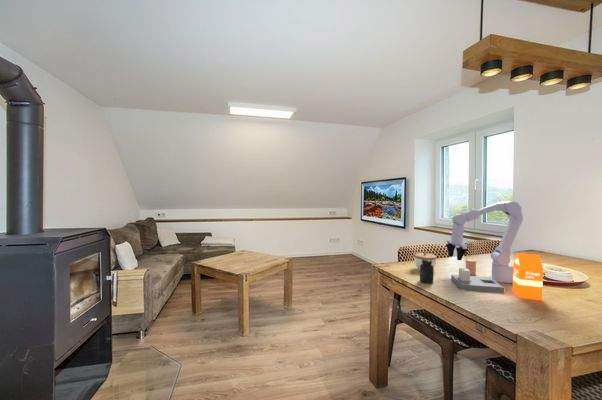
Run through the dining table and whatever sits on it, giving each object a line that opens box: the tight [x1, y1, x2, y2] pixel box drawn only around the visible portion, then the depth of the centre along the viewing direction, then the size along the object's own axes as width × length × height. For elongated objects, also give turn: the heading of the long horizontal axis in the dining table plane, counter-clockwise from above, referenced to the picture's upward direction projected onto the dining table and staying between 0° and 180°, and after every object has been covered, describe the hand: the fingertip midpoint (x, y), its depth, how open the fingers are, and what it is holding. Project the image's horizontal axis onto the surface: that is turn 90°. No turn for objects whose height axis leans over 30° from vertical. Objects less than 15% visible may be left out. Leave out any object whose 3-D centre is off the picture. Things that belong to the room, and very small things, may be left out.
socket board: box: [450, 267, 505, 293], centre depth 144 cm, size 19×16×8 cm
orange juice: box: [512, 252, 544, 301], centre depth 130 cm, size 8×9×20 cm
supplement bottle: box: [419, 259, 435, 285], centre depth 149 cm, size 7×7×12 cm
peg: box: [465, 259, 477, 276], centre depth 164 cm, size 4×4×8 cm
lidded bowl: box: [413, 251, 437, 271], centre depth 171 cm, size 13×13×11 cm
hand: (454, 258), depth 158 cm, fingers open, 7 cm apart
